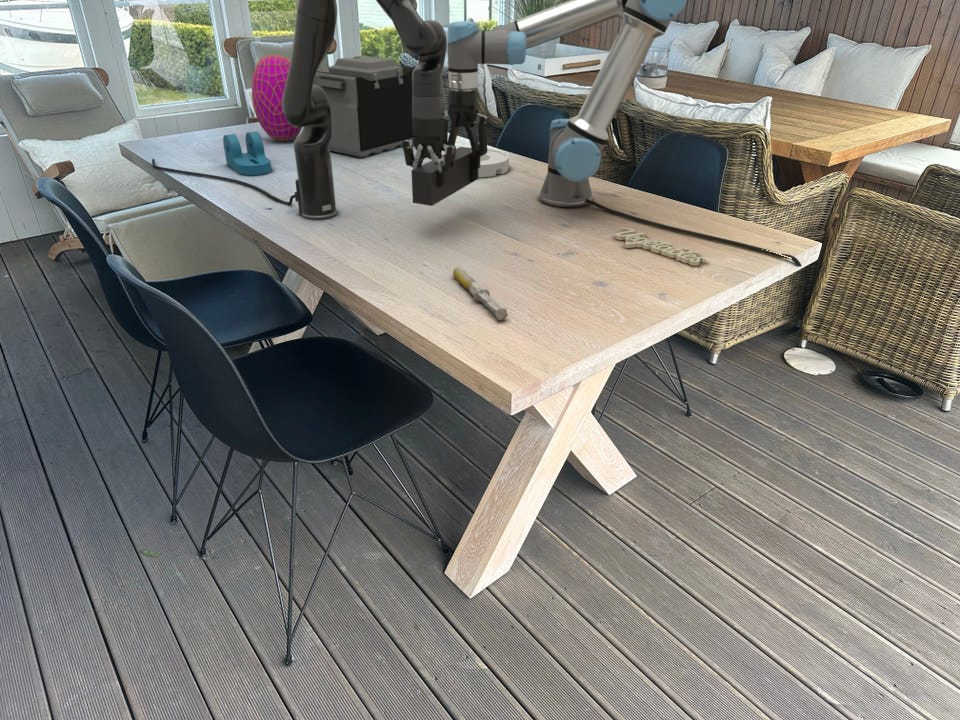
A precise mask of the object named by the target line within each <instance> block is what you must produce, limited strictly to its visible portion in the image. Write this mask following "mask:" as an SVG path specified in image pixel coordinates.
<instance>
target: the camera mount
mask: <svg viewBox="0 0 960 720" xmlns="http://www.w3.org/2000/svg"><path fill="white" fill-rule="evenodd" d="M222 140H223V141H222V143H223V149H224V150H223V151H224V156H225V161H226V165H227V166H228V167H230V168H231V169H232V170H234V171H236V172H237V173H238V174H239V175H244V176H260V175H265V174H268V173H271V172H272V164H271V159H270V158H268V157H267V156H266V153H265V145H264V141H263V139H262V136H261V134H260V132H258V131H247V132H246V133H245V146H246V152H243V151H242V150H243V149H242V146H241V142H240V140H239V138H238V135H236V134H235V133H231V134H224V135H223V138H222Z"/></svg>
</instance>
